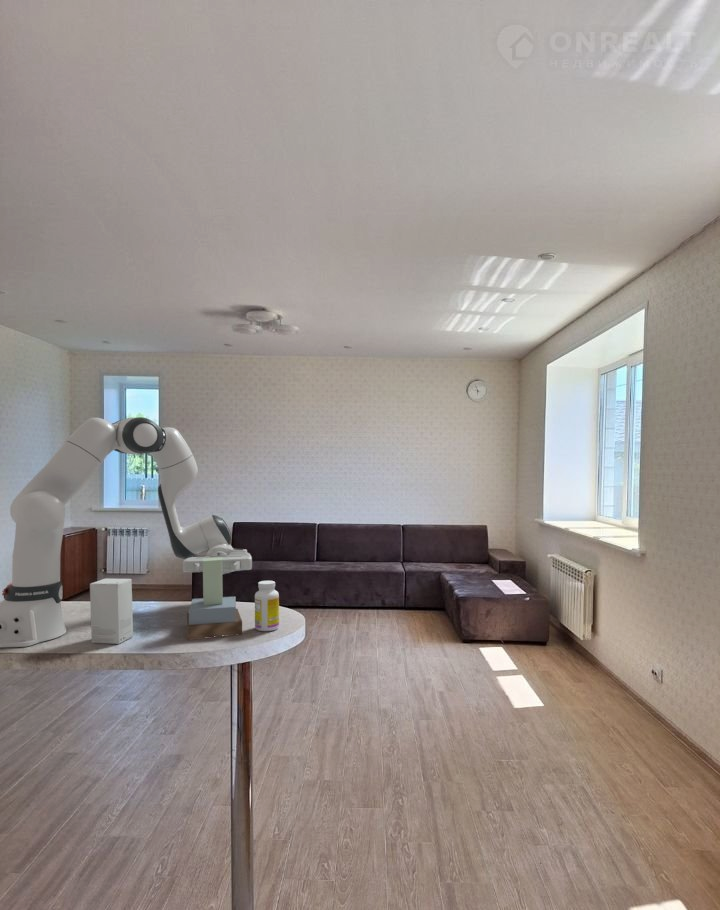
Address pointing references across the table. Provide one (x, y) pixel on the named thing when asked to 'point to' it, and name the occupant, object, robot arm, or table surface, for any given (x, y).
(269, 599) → the supplement bottle
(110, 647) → the table surface
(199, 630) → the tower bottom block
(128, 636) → the skincare box
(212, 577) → the sage block
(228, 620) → the tower top block
